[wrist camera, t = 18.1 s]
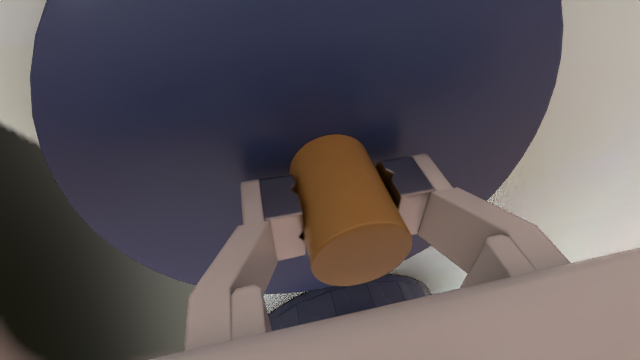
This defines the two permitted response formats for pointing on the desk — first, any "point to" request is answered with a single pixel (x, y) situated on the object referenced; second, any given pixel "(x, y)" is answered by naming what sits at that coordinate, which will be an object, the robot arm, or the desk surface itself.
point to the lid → (282, 117)
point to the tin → (346, 300)
